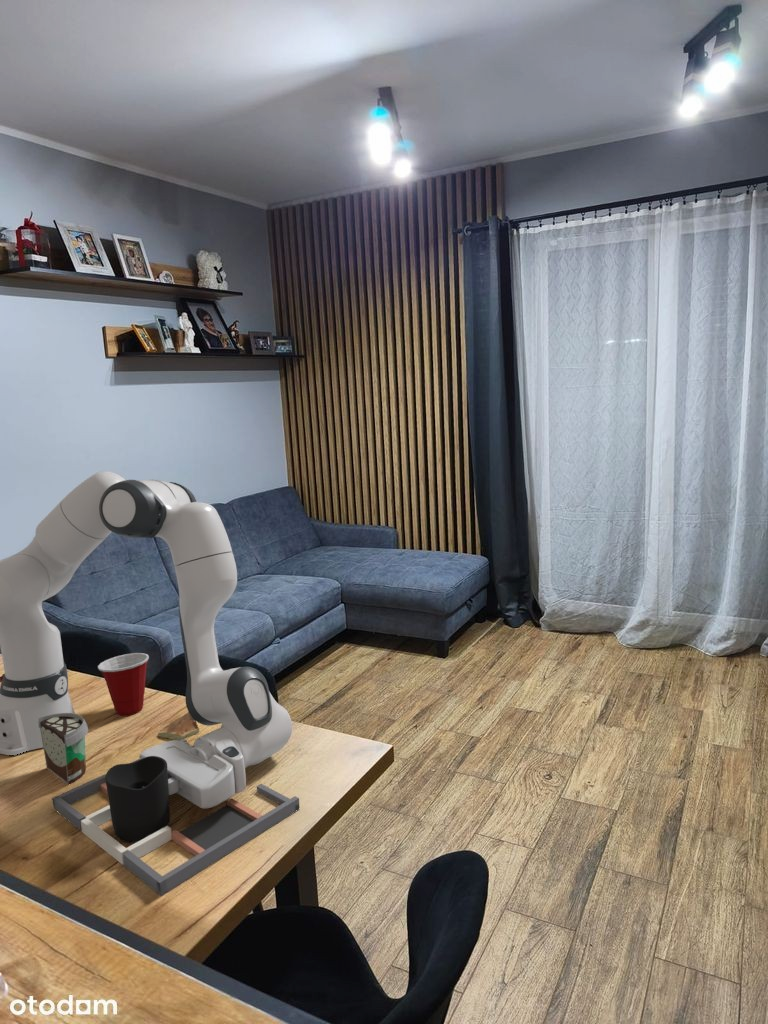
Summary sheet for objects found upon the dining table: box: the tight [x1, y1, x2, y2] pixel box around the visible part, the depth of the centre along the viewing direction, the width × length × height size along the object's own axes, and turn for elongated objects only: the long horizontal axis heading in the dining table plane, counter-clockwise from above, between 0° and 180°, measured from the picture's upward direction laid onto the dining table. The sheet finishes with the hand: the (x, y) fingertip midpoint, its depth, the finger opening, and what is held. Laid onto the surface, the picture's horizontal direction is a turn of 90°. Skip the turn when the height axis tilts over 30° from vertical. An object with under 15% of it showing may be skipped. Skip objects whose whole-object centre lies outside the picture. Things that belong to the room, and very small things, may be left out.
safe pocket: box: [81, 804, 173, 866], centre depth 111 cm, size 8×14×2 cm, turn 49°
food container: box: [38, 713, 89, 786], centre depth 131 cm, size 12×6×10 cm, turn 48°
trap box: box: [51, 738, 301, 896], centre depth 118 cm, size 26×34×2 cm
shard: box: [157, 712, 201, 741], centre depth 147 cm, size 11×8×2 cm
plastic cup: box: [97, 652, 150, 717], centre depth 156 cm, size 11×11×12 cm
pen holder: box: [105, 756, 171, 843], centre depth 112 cm, size 9×9×10 cm
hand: (143, 793), depth 113 cm, fingers closed
